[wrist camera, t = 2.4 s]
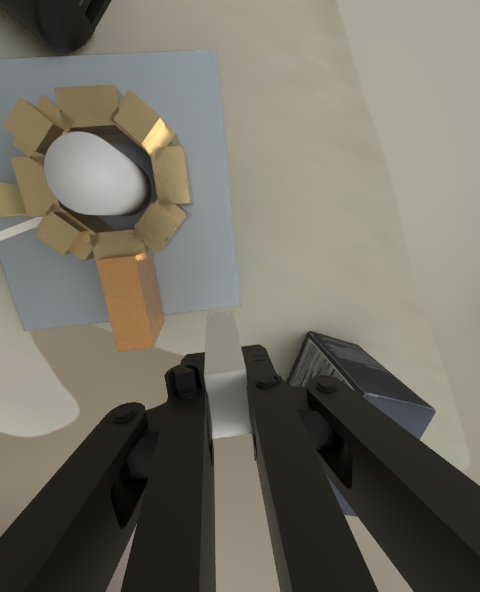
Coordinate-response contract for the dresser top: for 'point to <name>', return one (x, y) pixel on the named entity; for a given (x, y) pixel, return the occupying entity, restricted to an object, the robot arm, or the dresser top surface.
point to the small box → (360, 385)
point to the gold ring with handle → (90, 228)
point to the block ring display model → (120, 186)
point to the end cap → (58, 20)
